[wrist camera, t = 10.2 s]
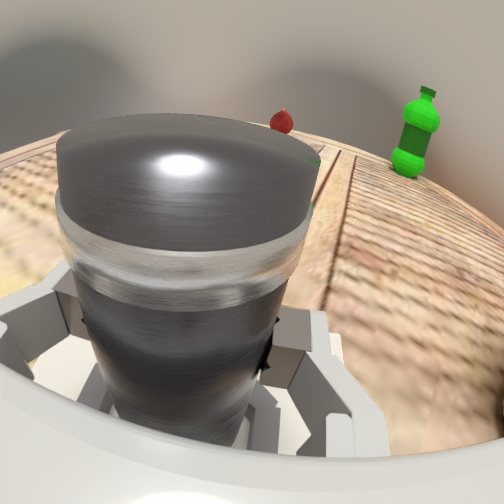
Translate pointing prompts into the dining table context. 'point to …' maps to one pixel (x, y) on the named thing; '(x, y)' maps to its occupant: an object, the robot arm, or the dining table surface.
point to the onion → (281, 122)
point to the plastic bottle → (416, 134)
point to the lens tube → (182, 258)
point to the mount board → (97, 397)
